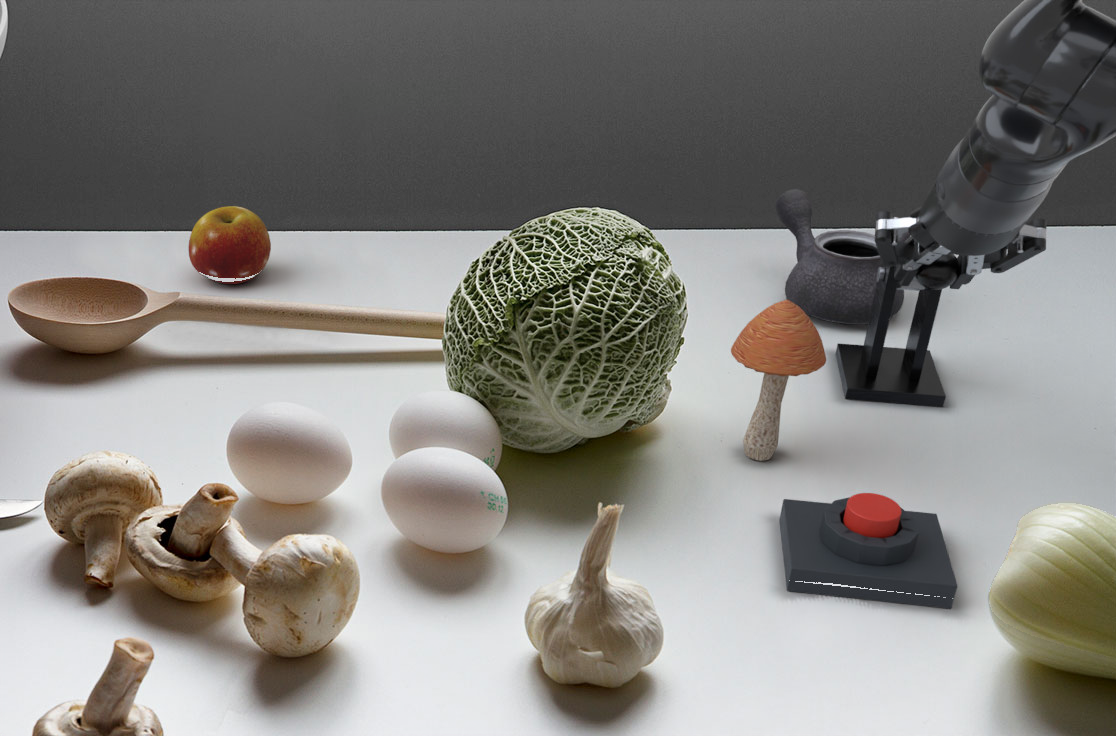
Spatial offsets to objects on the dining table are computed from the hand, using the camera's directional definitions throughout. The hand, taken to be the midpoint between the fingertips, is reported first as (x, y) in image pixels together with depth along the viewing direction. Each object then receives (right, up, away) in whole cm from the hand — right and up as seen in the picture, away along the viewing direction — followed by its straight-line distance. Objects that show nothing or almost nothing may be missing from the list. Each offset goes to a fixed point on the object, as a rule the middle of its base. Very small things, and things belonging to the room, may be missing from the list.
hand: (928, 277), depth 116 cm
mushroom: (-15, -16, +2) cm, 22 cm away
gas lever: (0, -1, +2) cm, 3 cm away
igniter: (-11, -22, -15) cm, 29 cm away
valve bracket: (+2, -8, +13) cm, 15 cm away
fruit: (-66, +6, +37) cm, 76 cm away
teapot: (+2, +3, +30) cm, 31 cm away
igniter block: (-11, -25, -13) cm, 30 cm away
